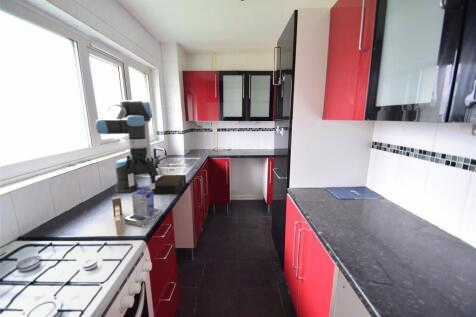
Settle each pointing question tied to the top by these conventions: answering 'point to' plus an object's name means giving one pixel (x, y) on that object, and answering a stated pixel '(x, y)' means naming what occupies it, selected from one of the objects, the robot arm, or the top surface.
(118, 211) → the door edge board
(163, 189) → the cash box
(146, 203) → the ink cartridge box
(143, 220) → the index tray
